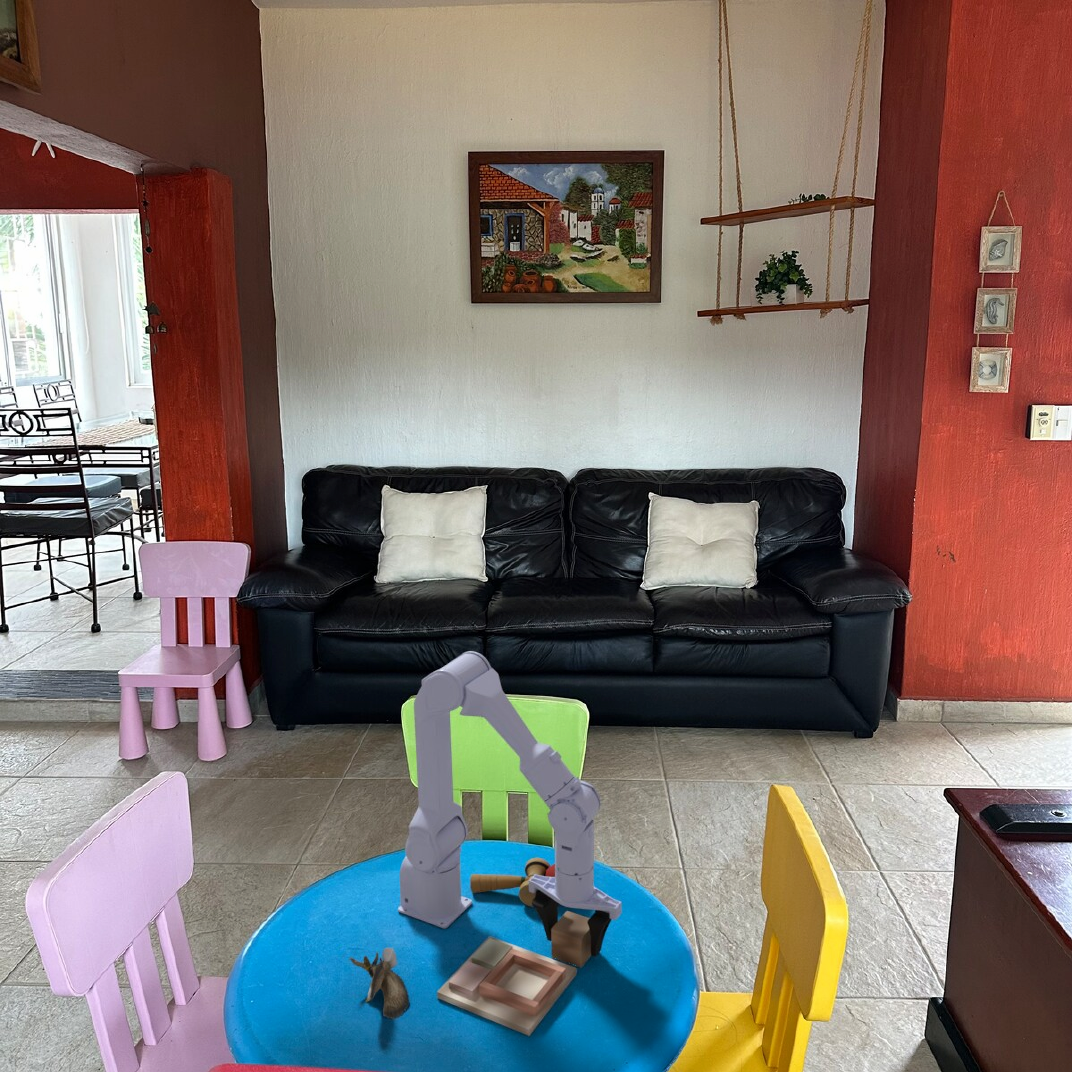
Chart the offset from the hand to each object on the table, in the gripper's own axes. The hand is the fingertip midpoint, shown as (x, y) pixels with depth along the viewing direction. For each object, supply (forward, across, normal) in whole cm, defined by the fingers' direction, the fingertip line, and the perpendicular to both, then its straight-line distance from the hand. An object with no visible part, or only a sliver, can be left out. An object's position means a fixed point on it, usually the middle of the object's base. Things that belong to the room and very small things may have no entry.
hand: (573, 944), depth 147 cm
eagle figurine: (+2, +19, +22) cm, 29 cm away
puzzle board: (+1, +5, +11) cm, 12 cm away
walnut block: (+2, 0, 0) cm, 2 cm away
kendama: (+2, +14, -9) cm, 17 cm away
